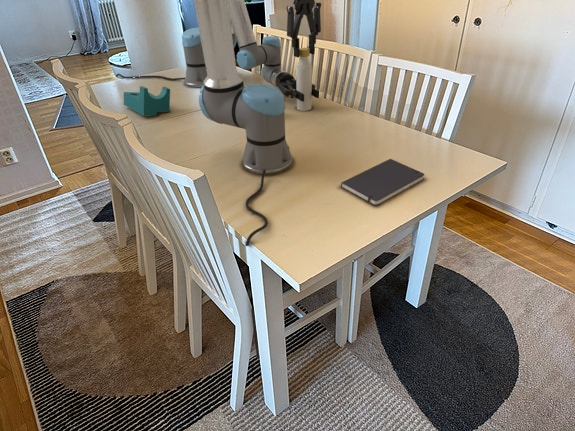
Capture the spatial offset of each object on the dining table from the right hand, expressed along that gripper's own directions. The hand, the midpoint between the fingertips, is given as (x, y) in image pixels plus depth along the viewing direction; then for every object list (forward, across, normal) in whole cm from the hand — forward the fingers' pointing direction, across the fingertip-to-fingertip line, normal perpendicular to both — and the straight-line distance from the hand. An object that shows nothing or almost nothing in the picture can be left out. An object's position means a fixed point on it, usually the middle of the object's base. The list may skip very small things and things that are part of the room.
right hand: (304, 54), depth 151 cm
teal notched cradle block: (+21, -52, +38) cm, 67 cm away
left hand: (+14, 0, -5) cm, 15 cm away
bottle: (+21, 0, 0) cm, 21 cm away
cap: (-2, 0, 0) cm, 2 cm away
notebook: (+21, -16, -61) cm, 66 cm away
